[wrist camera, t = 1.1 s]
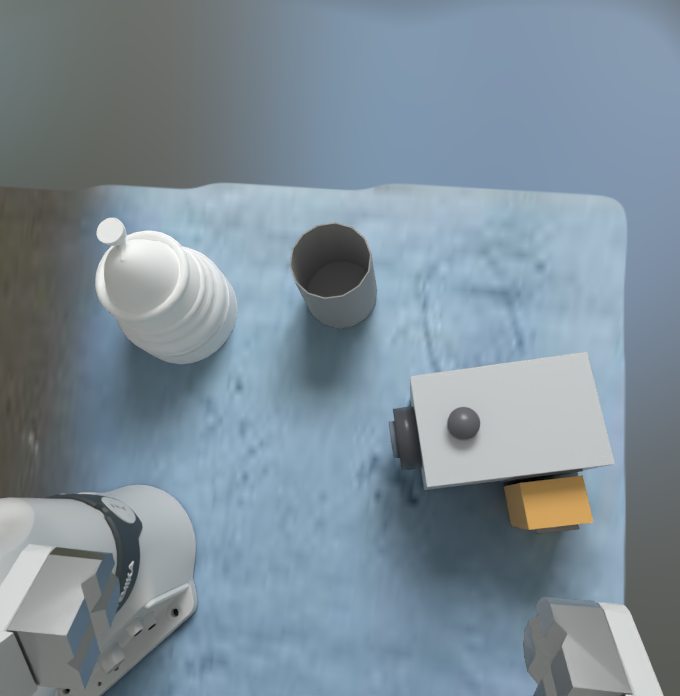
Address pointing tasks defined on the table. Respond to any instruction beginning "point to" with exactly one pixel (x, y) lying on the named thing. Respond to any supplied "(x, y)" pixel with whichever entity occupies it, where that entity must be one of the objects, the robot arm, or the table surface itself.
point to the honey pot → (164, 294)
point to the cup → (335, 274)
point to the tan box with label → (548, 504)
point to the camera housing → (502, 423)
